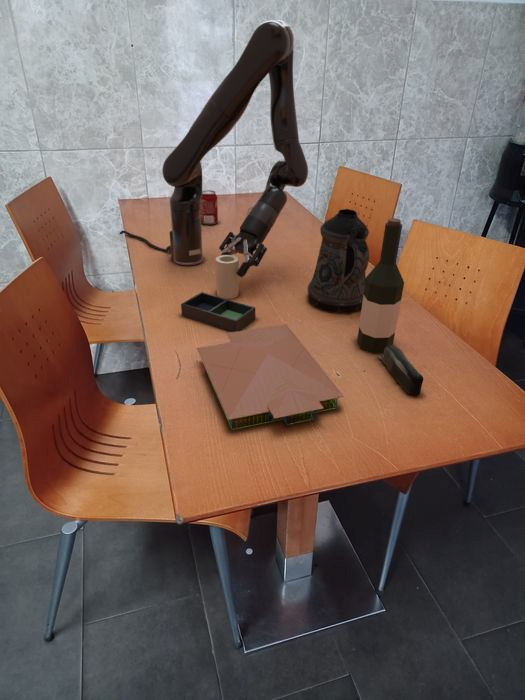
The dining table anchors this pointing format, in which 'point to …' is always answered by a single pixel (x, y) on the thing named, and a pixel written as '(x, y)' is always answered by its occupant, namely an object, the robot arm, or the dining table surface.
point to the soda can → (209, 207)
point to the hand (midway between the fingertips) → (228, 271)
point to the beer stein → (341, 264)
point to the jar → (227, 276)
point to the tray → (218, 312)
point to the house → (266, 375)
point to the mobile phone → (402, 370)
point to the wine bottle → (382, 295)
